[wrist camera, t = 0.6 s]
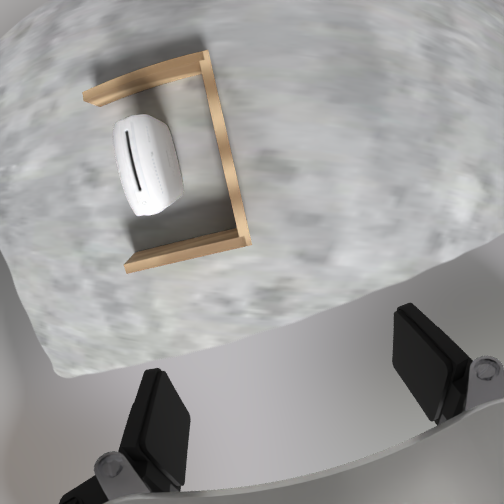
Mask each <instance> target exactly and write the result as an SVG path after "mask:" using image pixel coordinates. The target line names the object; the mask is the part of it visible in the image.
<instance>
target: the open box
mask: <svg viewBox="0 0 504 504" xmlns="http://www.w3.org/2000/svg"><path fill="white" fill-rule="evenodd" d="M199 74H202V76H203V80H204V85H205V89H206V94H207V98H208V103H209V107H210V112H211V116H212V121H213V125H214V129H215V134H216V138H217V143H218V147H219V152H220V156H221V160H222V165H223V169H224V173H225V178H226V182H227V187H228V191H229V195H230V200H231V204H232V208H233V212H234V217H235V221H236V225H237V228H234V229H230V230H225V231H221V232H217V233H213V234H208V235H204V236H200V237H196V238H192V239H187V240H183V241H179V242H175V243H171V244H167V245H163V246H159V247H155V248H151V249H147V250H143V251H139V252H135V253H134V254H133V255H132V256H131V258H130V259H129V260H128V261H127V262H126V263H125V264H124V267H125V270H126V273H127V274H128V273H132V272H137V271H141V270H145V269H149V268H154V267H158V266H162V265H167V264H171V263H175V262H180V261H184V260H188V259H193V258H197V257H201V256H206V255H210V254H214V253H219V252H223V251H227V250H232V249H236V248H241V247H245V246H249V245H252V243H251V238H250V234H249V229H248V225H247V221H246V216H245V212H244V207H243V203H242V198H241V194H240V189H239V185H238V180H237V176H236V172H235V167H234V163H233V158H232V154H231V149H230V145H229V140H228V136H227V132H226V127H225V123H224V118H223V114H222V109H221V105H220V101H219V96H218V92H217V87H216V83H215V79H214V74H213V70H212V65H211V61H210V56H209V52H208V50H205V51H201V52H197V53H192V54H188V55H185V56H181V57H177V58H174V59H170V60H167V61H163V62H160V63H157V64H154V65H151V66H148V67H145V68H142V69H139V70H136V71H133V72H130V73H128V74H125V75H122V76H120V77H117V78H115V79H112V80H110V81H107V82H105V83H102V84H100V85H98V86H96V87H93V88H91V89H89V90H87V91H84V92H82V93H83V100H84V101H85V102H88V103H91V104H94V105H96V106H99V107H101V106H103V105H106V104H108V103H111V102H113V101H116V100H119V99H121V98H124V97H127V96H129V95H132V94H135V93H138V92H141V91H144V90H146V89H150V88H153V87H156V86H159V85H162V84H165V83H169V82H172V81H176V80H179V79H183V78H187V77H191V76H195V75H199Z"/></svg>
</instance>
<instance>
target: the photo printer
mask: <svg viewBox="0 0 504 504" xmlns="http://www.w3.org/2000/svg"><path fill="white" fill-rule="evenodd" d="M113 145H114V152H115V158H116V163H117V168H118V172H119V176H120V179H121V183H122V186H123V189H124V192H125V195H126V198H127V200H128V202H129V204H130V206H131V208H132V210H133V211H134V213H135V214H136V215H137V216H142V215H147V216H148V215H154V214H157V213H160V212H161V211H163V210H164V209H165V208H166V207H168V206H170V205H171V204H172V203H174V202H175V201H176V200H177V199H179V198H180V197H181V196H182V195H183V194H184V188H183V181H182V177H181V172H180V168H179V163H178V159H177V155H176V151H175V147H174V144H173V140H172V137H171V133H170V131H169V128H168V126H167V125H166V124H165V123H163V122H161V121H159V120H158V119H156V118H154V117H152V116H149V115H147V114H140V115H131V116H128V117H126V118H125V119H123V120H119V121H118V122H116V123H115V124H114V129H113Z"/></svg>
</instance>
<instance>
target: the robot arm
mask: <svg viewBox="0 0 504 504" xmlns="http://www.w3.org/2000/svg"><path fill="white" fill-rule="evenodd" d="M392 362H393V366H394V368H395V370H396V371H397V373H398V374H399V376H400V377H401V378H402V380H403V381H404V383H405V384H406V386H407V387H408V389H409V390H410V392H411V393H412V394H413V396H414V397H415V399H416V400H417V402H418V403H419V405H420V406H421V408H422V409H423V411H424V412H425V414H426V415H427V417H428V418H429V420H430V421H435V423H436V424H437V426H436V427H434V428H432V429H430V430H428V431H426V432H424V433H422V434H420V435H417V436H415V437H413V438H411V439H409V440H407V441H404V442H402V443H400V444H398V445H395V446H393V447H390V448H388V449H385V450H383V451H381V452H378V453H375V454H373V455H370V456H368V457H364V458H362V459H359V460H356V461H353V462H350V463H347V464H344V465H341V466H337V467H334V468H331V469H327V470H324V471H320V472H316V473H312V474H309V475H305V476H300V477H296V478H291V479H286V480H282V481H277V482H271V483H265V484H259V485H253V486H246V487H238V488H230V489H220V490H207V491H190V492H180V489H181V486H183V485H184V483H185V471H186V460H187V449H188V440H189V429H190V415H189V412H188V411H187V409H186V407H185V406H184V404H183V402H182V400H181V399H180V397H179V395H178V393H177V392H176V390H175V388H174V386H173V385H172V383H171V381H170V379H169V377H168V376H167V374H166V372H165V371H161V369H159V368H155V369H149V370H146V371H145V372H144V374H143V377H142V380H141V384H140V386H139V390H138V393H137V396H136V399H135V402H134V403H133V405H132V408H131V411H130V414H129V418H128V421H127V424H126V427H125V430H124V434H123V437H122V441H121V444H120V447H119V451H118V452H115V451H112V452H107V453H105V454H103V455H102V456H100V457H99V458H98V460H97V461H96V463H95V465H94V472H95V476H93V477H92V478H90V479H88V480H87V481H85V482H84V483H82V484H81V485H79V486H78V487H76V488H74V489H73V490H71V491H69V492H68V493H66V494H65V495H64V496H63V497H62V498H61V500H60V503H59V504H504V368H503V365H502V363H501V362H500V361H499V360H498V359H497V358H494V357H492V356H481V357H478V358H476V359H475V360H474V361H473V360H471V358H469V357H468V355H467V354H466V353H465V352H464V351H463V350H462V349H461V348H459V346H458V345H457V344H456V343H454V342H453V341H452V340H451V339H450V338H449V337H448V336H447V335H446V334H445V333H444V332H443V331H442V330H441V329H440V328H439V327H437V326H436V325H435V324H434V323H433V322H432V321H431V320H429V318H428V317H426V316H425V315H424V314H423V313H422V312H421V311H420V310H419V309H418V308H417V307H416V306H414V305H413V304H412V303H407V304H405V305H402V306H400V307H398V308H397V311H396V312H395V313H394V337H393V358H392Z"/></svg>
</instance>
